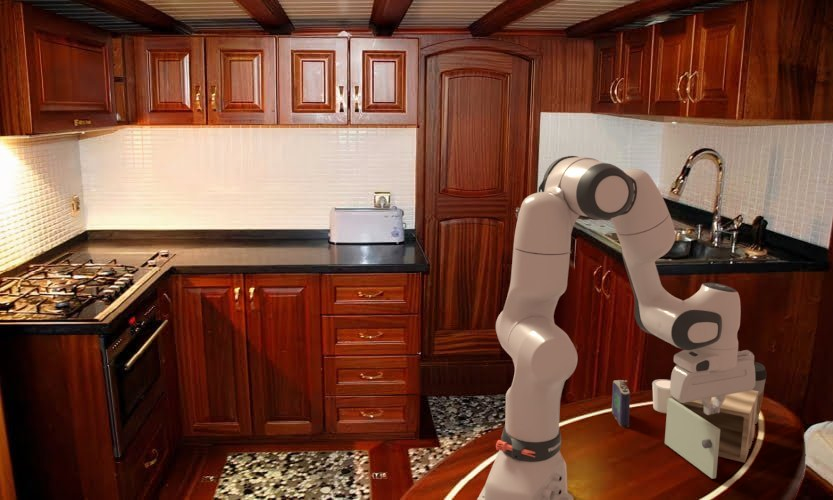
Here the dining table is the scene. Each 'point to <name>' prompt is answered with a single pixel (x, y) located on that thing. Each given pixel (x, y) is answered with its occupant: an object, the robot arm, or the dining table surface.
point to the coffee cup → (759, 385)
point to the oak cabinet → (732, 422)
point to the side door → (692, 437)
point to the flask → (621, 402)
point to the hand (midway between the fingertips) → (711, 413)
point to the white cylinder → (661, 394)
